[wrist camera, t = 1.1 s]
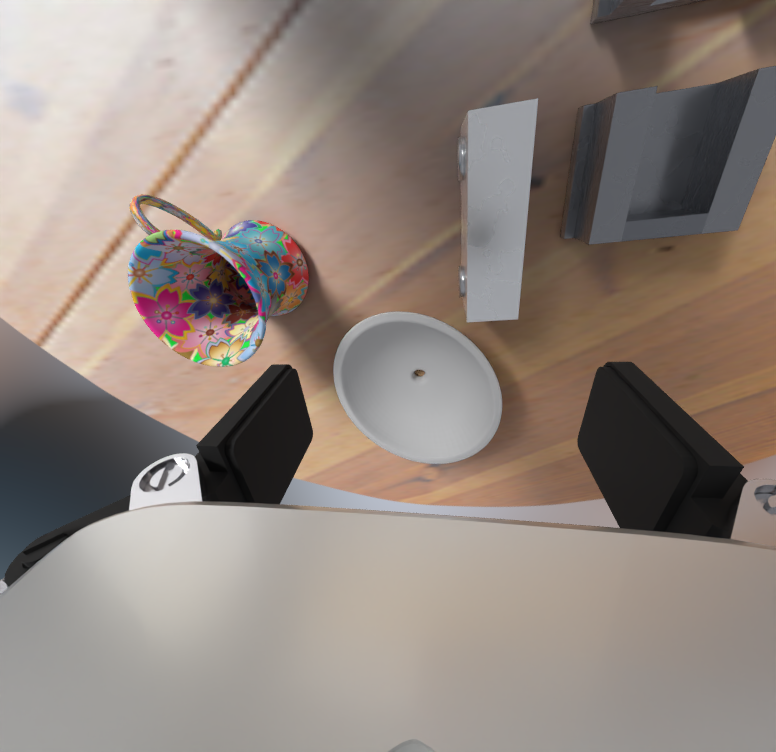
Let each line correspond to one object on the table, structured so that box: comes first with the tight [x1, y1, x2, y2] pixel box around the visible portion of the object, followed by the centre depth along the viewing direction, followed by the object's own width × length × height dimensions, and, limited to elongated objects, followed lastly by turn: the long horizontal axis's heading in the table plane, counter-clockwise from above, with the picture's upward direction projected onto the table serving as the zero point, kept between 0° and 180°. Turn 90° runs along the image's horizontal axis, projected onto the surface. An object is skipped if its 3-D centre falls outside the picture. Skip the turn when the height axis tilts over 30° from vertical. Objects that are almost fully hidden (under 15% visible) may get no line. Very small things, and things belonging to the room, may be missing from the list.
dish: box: [333, 311, 502, 464], centre depth 32 cm, size 18×14×5 cm
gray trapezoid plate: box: [457, 98, 538, 322], centre depth 23 cm, size 12×4×7 cm, turn 7°
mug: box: [128, 194, 309, 367], centre depth 25 cm, size 12×9×11 cm
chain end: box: [560, 66, 776, 244], centre depth 21 cm, size 8×10×4 cm
